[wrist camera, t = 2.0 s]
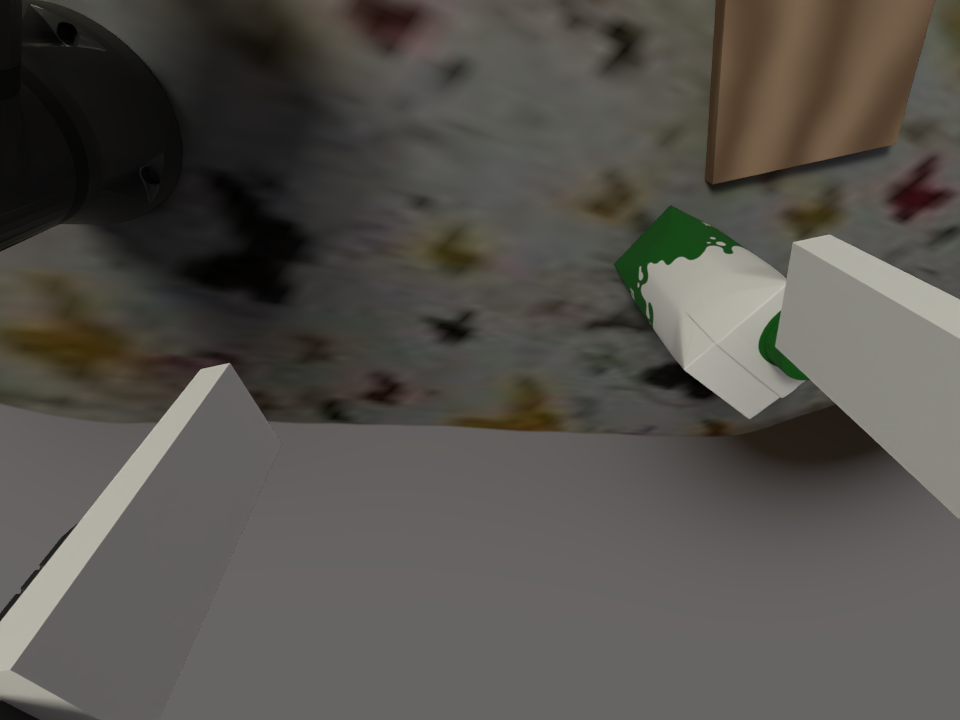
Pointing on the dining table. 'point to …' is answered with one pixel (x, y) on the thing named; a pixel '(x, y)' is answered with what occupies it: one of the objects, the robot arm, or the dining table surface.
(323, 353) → the dining table surface
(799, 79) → the walnut board
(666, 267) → the soya milk
